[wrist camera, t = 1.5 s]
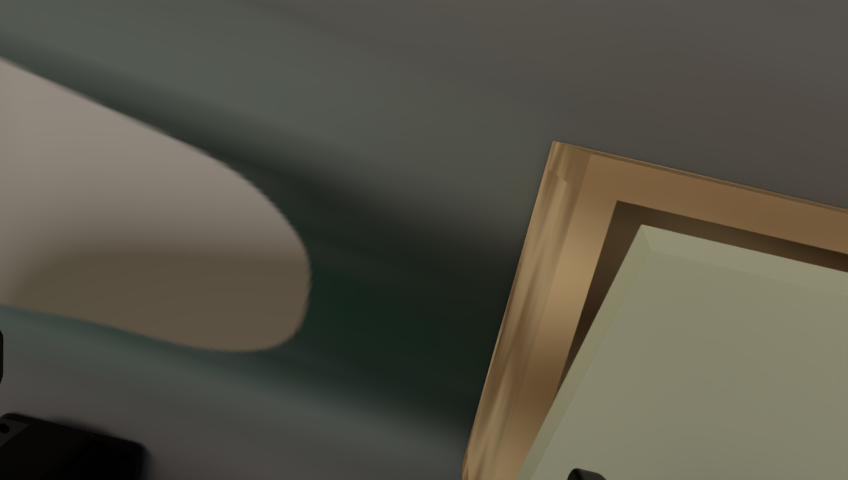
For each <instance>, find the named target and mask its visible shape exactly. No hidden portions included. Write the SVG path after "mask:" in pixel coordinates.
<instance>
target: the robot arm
mask: <svg viewBox="0 0 848 480" xmlns="http://www.w3.org/2000/svg"><path fill="white" fill-rule="evenodd" d="M2 377H3V334H2V332H1V331H0V383H1V381H2ZM6 424H7V425H8V426H9V427H8V426H7V425H6ZM126 453H128V454H130V455H131V457H130V456H128V455H127V454H126ZM141 462H142V450H141V448H140V447H139V446H138V445H137V444H135V443H133V442H128V441H124V440H120V439H116V438H112V437H108V436H103V435H99V434H95V433H91V432H87V431H82V430H78V429H74V428H70V427H66V426H62V425H57V424H53V423H49V422H45V421H41V420H37V419H32V418H28V417H24V416H20V415H16V414H11V413H7V414H4V415H3V416H1V417H0V480H140V471H141ZM567 480H606V479H605V478H604V477H603V476H602V475H601V474H599V473H597V472H592V471H588V470H584V469H580V468H574V469H573V470H572V471H571V472H570V474H569V476H568V478H567Z"/></svg>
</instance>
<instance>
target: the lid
mask: <svg viewBox="0 0 848 480" xmlns="http://www.w3.org/2000/svg"><path fill="white" fill-rule="evenodd" d="M574 468H580V469H584V470H588V471H592V472H597V473H599V474H601V475H602V476H603V477H604V478H605V479H606V480H848V273H847V272H843V271H838V270H834V269H830V268H826V267H821V266H817V265H813V264H808V263H804V262H800V261H796V260H791V259H787V258H783V257H779V256H774V255H770V254H766V253H762V252H757V251H753V250H749V249H744V248H740V247H736V246H732V245H727V244H723V243H719V242H715V241H710V240H706V239H702V238H697V237H693V236H689V235H685V234H680V233H676V232H672V231H668V230H663V229H659V228H655V227H651V226H646V225H642V224H641V226H640V228H639V230H638V232H637V234H636V236H635V238H634V241H633V243H632V245H631V247H630V249H629V251H628V253H627V255H626V257H625V259H624V261H623V263H622V265H621V267H620V269H619V271H618V273H617V275H616V277H615V279H614V281H613V283H612V285H611V287H610V289H609V291H608V293H607V295H606V297H605V299H604V301H603V303H602V305H601V307H600V309H599V311H598V313H597V315H596V317H595V319H594V321H593V323H592V325H591V327H590V329H589V331H588V334H587V336H586V338H585V340H584V342H583V344H582V346H581V348H580V350H579V352H578V354H577V356H576V358H575V360H574V362H573V364H572V366H571V368H570V370H569V372H568V374H567V376H566V378H565V380H564V382H563V384H562V386H561V388H560V390H559V392H558V394H557V396H556V398H555V400H554V402H553V404H552V406H551V408H550V410H549V412H548V414H547V416H546V418H545V420H544V422H543V424H542V427H541V429H540V431H539V433H538V435H537V437H536V439H535V441H534V443H533V445H532V447H531V449H530V451H529V453H528V455H527V457H526V459H525V461H524V463H523V465H522V467H521V469H520V471H519V473H518V475H517V477H516V479H515V480H567V478H568V476H569V474H570V472H571V471H572V470H573V469H574Z"/></svg>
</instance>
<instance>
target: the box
mask: <svg viewBox="0 0 848 480" xmlns="http://www.w3.org/2000/svg"><path fill="white" fill-rule="evenodd" d="M641 224H642V225H646V226H651V227H655V228H659V229H663V230H668V231H672V232H676V233H680V234H685V235H689V236H693V237H697V238H702V239H706V240H710V241H715V242H719V243H723V244H727V245H732V246H736V247H740V248H744V249H749V250H753V251H757V252H762V253H766V254H770V255H774V256H779V257H783V258H787V259H791V260H796V261H800V262H804V263H808V264H813V265H817V266H821V267H826V268H830V269H834V270H838V271H843V272H847V273H848V209H845V208H841V207H837V206H832V205H828V204H824V203H820V202H815V201H811V200H807V199H802V198H798V197H794V196H790V195H785V194H781V193H777V192H772V191H768V190H764V189H760V188H755V187H751V186H747V185H742V184H738V183H734V182H730V181H725V180H721V179H717V178H712V177H708V176H704V175H700V174H695V173H691V172H687V171H682V170H678V169H674V168H670V167H665V166H661V165H657V164H652V163H648V162H644V161H639V160H635V159H631V158H627V157H622V156H618V155H614V154H609V153H605V152H601V151H597V150H592V149H588V148H584V147H579V146H575V145H571V144H567V143H562V142H558V141H554V140H553V142H552V146H551V149H550V153H549V156H548V160H547V164H546V167H545V171H544V174H543V178H542V181H541V185H540V189H539V192H538V196H537V199H536V203H535V206H534V210H533V214H532V217H531V221H530V224H529V228H528V231H527V235H526V238H525V242H524V246H523V249H522V253H521V256H520V260H519V263H518V267H517V271H516V274H515V278H514V281H513V285H512V288H511V292H510V296H509V299H508V303H507V306H506V310H505V313H504V317H503V320H502V324H501V328H500V331H499V335H498V338H497V342H496V345H495V349H494V353H493V356H492V360H491V363H490V367H489V370H488V374H487V378H486V381H485V385H484V388H483V392H482V395H481V399H480V402H479V406H478V410H477V413H476V417H475V420H474V424H473V427H472V431H471V435H470V438H469V442H468V445H467V449H466V452H465V456H464V460H463V463H462V480H515V479H516V477H517V475H518V473H519V471H520V469H521V467H522V465H523V463H524V461H525V459H526V457H527V455H528V453H529V451H530V449H531V447H532V445H533V443H534V441H535V439H536V437H537V435H538V433H539V431H540V429H541V427H542V424H543V422H544V420H545V418H546V416H547V414H548V412H549V410H550V408H551V406H552V404H553V402H554V400H555V398H556V396H557V394H558V392H559V390H560V388H561V386H562V384H563V382H564V380H565V378H566V376H567V374H568V372H569V370H570V368H571V366H572V364H573V362H574V360H575V358H576V356H577V354H578V352H579V350H580V348H581V346H582V344H583V342H584V340H585V338H586V336H587V334H588V331H589V329H590V327H591V325H592V323H593V321H594V319H595V317H596V315H597V313H598V311H599V309H600V307H601V305H602V303H603V301H604V299H605V297H606V295H607V293H608V291H609V289H610V287H611V285H612V283H613V281H614V279H615V277H616V275H617V273H618V271H619V269H620V267H621V265H622V263H623V261H624V259H625V257H626V255H627V253H628V251H629V249H630V247H631V245H632V243H633V241H634V238H635V236H636V234H637V232H638V230H639V228H640V226H641Z"/></svg>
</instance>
